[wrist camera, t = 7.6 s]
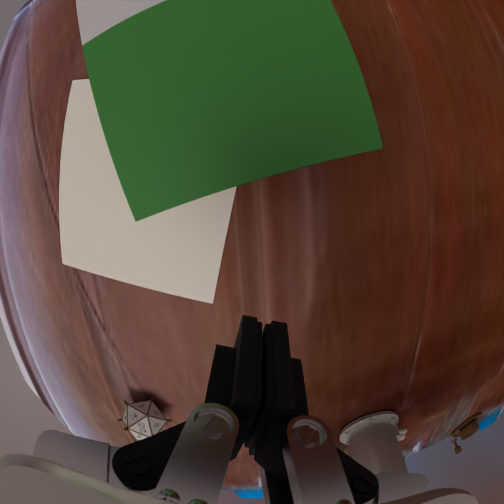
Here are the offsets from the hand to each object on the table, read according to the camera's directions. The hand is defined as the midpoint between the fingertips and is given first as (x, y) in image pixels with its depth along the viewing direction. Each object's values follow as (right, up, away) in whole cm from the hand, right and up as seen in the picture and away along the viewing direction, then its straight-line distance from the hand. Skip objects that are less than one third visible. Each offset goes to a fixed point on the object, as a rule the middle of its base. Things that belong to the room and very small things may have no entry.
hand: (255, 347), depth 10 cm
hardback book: (0, +9, +10) cm, 14 cm away
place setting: (+66, -53, +42) cm, 94 cm away
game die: (-18, -22, +29) cm, 41 cm away
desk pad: (-12, +10, +15) cm, 21 cm away
